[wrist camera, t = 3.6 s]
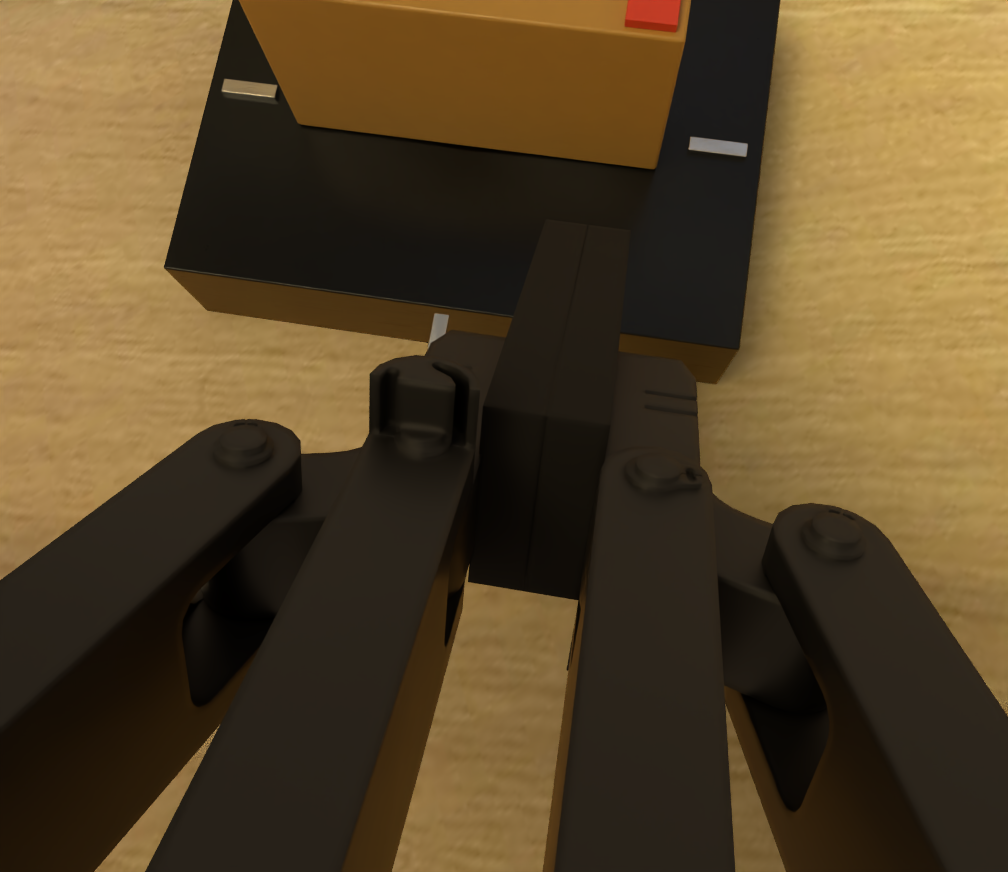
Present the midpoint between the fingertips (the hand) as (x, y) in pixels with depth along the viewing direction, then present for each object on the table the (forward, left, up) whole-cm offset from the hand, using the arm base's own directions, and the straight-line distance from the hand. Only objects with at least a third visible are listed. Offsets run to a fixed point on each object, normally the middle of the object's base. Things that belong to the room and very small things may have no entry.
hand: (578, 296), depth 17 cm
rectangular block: (-3, +6, -5) cm, 9 cm away
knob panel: (-3, +6, -8) cm, 11 cm away
